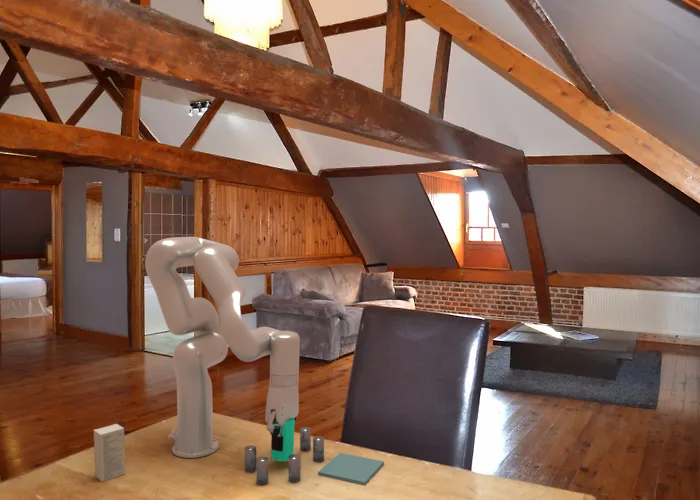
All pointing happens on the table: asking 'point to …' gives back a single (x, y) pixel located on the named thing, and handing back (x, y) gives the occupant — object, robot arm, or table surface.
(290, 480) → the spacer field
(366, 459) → the mat
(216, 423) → the table surface
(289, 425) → the candle
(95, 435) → the skincare box
